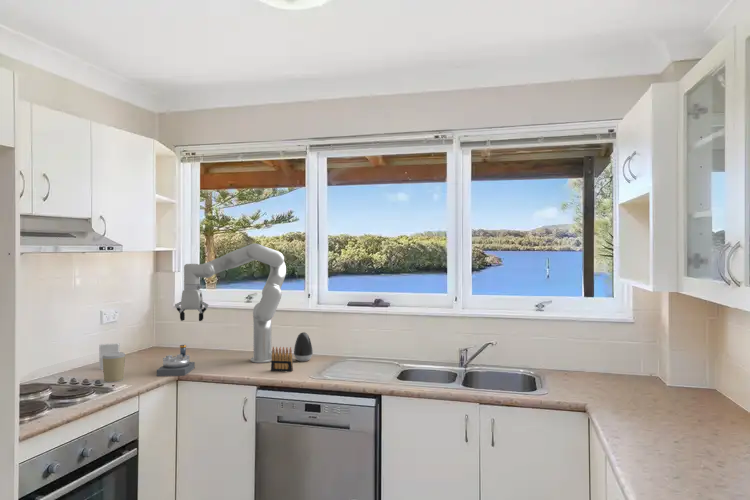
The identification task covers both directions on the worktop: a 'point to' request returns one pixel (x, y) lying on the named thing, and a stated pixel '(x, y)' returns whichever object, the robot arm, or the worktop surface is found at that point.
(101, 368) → the base with upright slab
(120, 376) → the coffee cup
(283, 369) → the ammunition clip
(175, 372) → the grey rectangular base plate
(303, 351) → the black egg shaped speaker
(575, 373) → the worktop surface
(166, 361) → the gold-rimmed tube plate
